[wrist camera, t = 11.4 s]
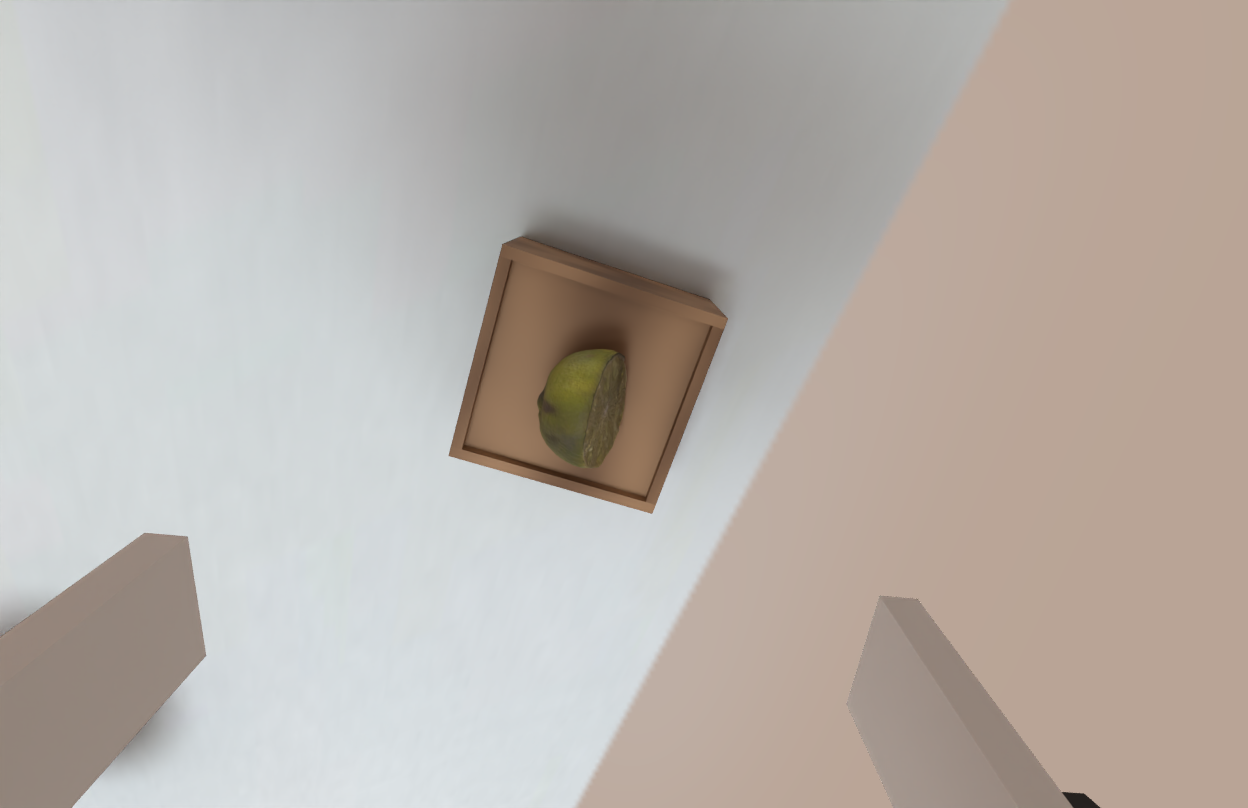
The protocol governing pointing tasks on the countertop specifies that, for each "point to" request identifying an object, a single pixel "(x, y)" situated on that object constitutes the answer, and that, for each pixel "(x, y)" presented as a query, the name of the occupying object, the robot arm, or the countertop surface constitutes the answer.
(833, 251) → the countertop surface
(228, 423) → the countertop surface
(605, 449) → the lime
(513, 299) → the walnut tray
